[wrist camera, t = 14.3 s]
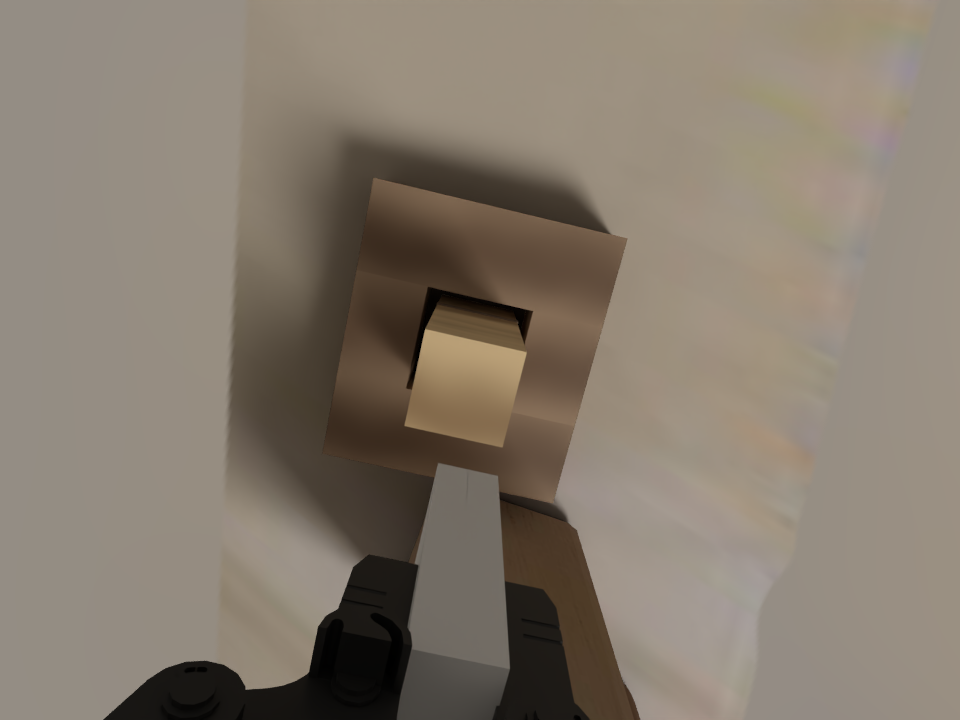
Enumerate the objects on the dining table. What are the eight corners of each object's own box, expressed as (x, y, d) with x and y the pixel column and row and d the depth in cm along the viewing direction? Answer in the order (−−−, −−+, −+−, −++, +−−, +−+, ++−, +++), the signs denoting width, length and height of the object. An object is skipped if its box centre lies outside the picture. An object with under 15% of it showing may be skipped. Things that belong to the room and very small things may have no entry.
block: (393, 598, 43) (320, 915, 24) (440, 473, 41) (403, 708, 21) (526, 641, 44) (563, 982, 24) (580, 520, 42) (667, 788, 22)
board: (384, 181, 37) (373, 177, 33) (612, 236, 37) (627, 238, 33) (337, 430, 40) (322, 453, 36) (545, 475, 41) (552, 503, 37)
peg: (441, 293, 38) (424, 327, 26) (514, 309, 38) (528, 351, 27) (426, 363, 39) (403, 426, 28) (496, 379, 39) (503, 448, 28)
